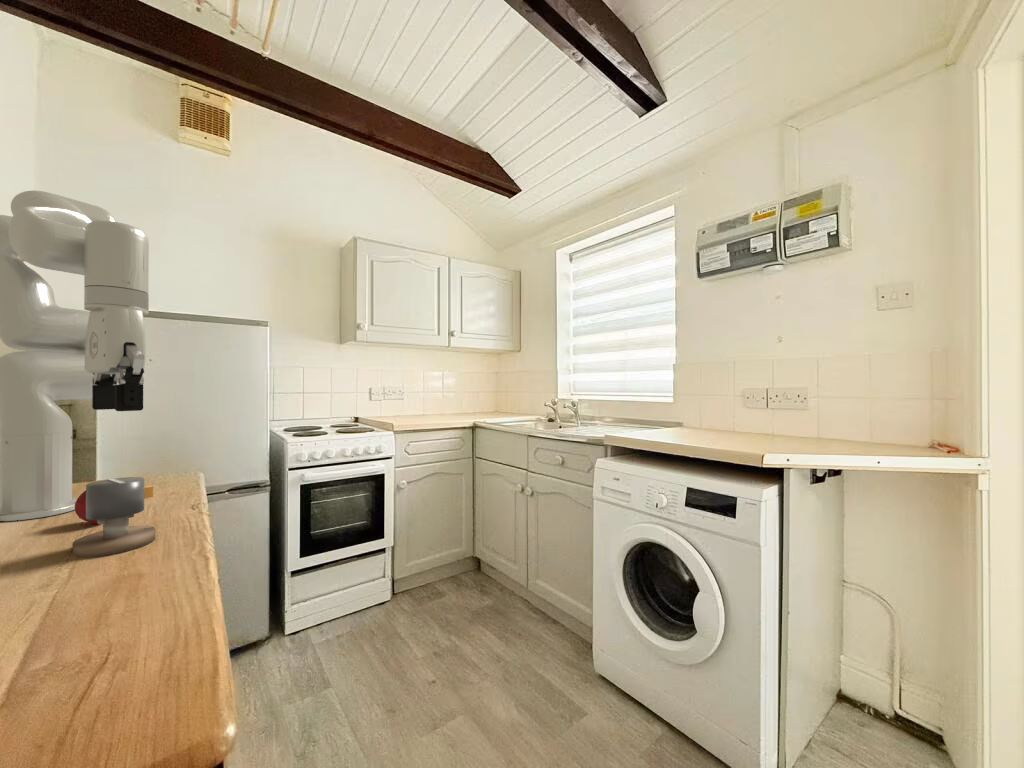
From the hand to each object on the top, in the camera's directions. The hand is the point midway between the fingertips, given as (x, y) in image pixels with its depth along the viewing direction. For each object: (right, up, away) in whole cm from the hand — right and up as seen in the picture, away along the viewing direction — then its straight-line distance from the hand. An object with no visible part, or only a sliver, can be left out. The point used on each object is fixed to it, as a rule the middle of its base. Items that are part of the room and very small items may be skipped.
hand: (117, 410), depth 67 cm
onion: (-13, -22, +10) cm, 27 cm away
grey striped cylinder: (0, -17, +1) cm, 17 cm away
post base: (0, -22, 0) cm, 22 cm away
